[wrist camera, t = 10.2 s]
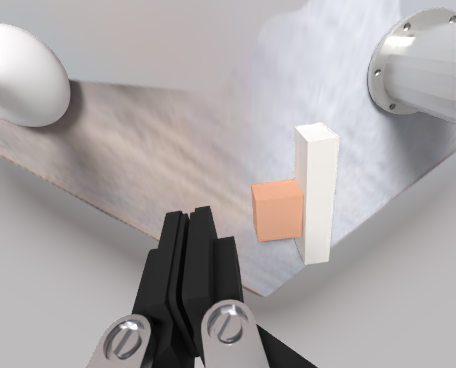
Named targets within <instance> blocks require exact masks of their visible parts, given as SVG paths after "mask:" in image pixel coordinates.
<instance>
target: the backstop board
mask: <svg viewBox="0 0 456 368" xmlns="http://www.w3.org/2000/svg"><path fill="white" fill-rule="evenodd" d="M339 140H340V137H339V136H338V135H336V134H335V133H334V132H333V131H332V130H330V129H329V128H328V127H327V126H325V125H324V124H323V123H316V124H309V125H302V126H296V127H294V180H295V181H296V183H297V185H298V187H299V188H300V190H301V192H302V193H303V214H302V233H301V237H295V242H296V245H297V247H298V250H299V252H300V254H301V257H302V259H303V262H304V264H305V265H308V264H315V263H322V262H328V261H329V251H330V241H331V229H332V218H333V207H334V196H335V185H336V174H337V162H338V151H339Z"/></svg>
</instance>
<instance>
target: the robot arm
mask: <svg viewBox="0 0 456 368" xmlns="http://www.w3.org/2000/svg"><path fill="white" fill-rule="evenodd" d="M403 27H404V28H403ZM375 71H376V72H375ZM368 88H369V92H370V95H371V97H372V99H373V100H374V102H375V103H376V104H377V105H378V106H379V107H380V108H382V109H383V110H385V111H387V112H390V113H393V114H397V115H408V114H414V113H417V112H420V111H422V112H424V113H427V114H430V115H432V116H435V117H437V118H440V119H443V120H445V121H448V122H451V123H453V124H456V12H455V11H453V10H451V9H446V8H430V9H423V10H420V11H417V12H415V13H412V14H410V15H409V16H407V17H405V18H403V19H402V20H401V21H399V22H398V23H397V24H396V25H394V26H393V27H392V28H391V29H390V30H389V32H388V33H387V34H386V35H385V36H384V37H383V39H382V40H381V42H380V43H379V44H378V46H377V48H376V50H375V52H374V54H373V56H372V59H371V62H370V65H369V71H368ZM199 356H200V357H201V360H202V362H203V364H204V367H205V368H317V367H316V366H315V365H313V364H312V363H310V362H309V361H308V360H306V359H305V358H303V357H302V356H301V355H299V354H298V353H296V352H295V351H293V350H292V349H291V348H289V347H288V346H286V345H285V344H284V343H282V342H281V341H280V340H278V339H277V338H275V337H273V336H272V335H271V334H270V333H268V332H267V331H265V330H264V329H263V328H261V327H260V326H258V325H257V324H256V323H255V320H254V317H253V314H252V312H251V310H250V309H249V308H248V307H247V306H246V305H245V304H244V301H243V292H242V284H241V275H240V268H239V261H238V255H237V249H236V244H235V240H234V236H232V237H226V238H220V239H218V237H217V233H216V229H215V225H214V221H213V217H212V212H211V209H210V206H205V207H199V208H195V212H192V213H190V220H189V217H188V214H187V213H186V214H183V213H182V211H175V212H169V213H166V216H165V220H164V225H163V229H162V233H161V237H160V241H159V245H158V249H152V250H150V251H149V254H148V257H147V260H146V264H145V268H144V271H143V274H142V278H141V282H140V285H139V289H138V292H137V296H136V300H135V304H134V307H133V310H132V314H131V315H127V316H125V317H122V318H120V319H118V320H117V321H116V322H114V323H113V324H112V325H111V326H110V327H109V328H108V329H107V330H106V331H105V333H104V334H103V336H102V337H101V339H100V341H99V343H98V345H97V347H96V349H95V351H94V353H93V355H92V357H91V360H90V361H89V364H88V366H87V367H86V368H194V363H195V357H199Z"/></svg>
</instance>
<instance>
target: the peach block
mask: <svg viewBox="0 0 456 368" xmlns="http://www.w3.org/2000/svg"><path fill="white" fill-rule="evenodd" d="M251 190H252V205H253V221H254V227H255V231H256V235H257V239H258V242H262V241H270V240H278V239H287V238H295V237H301V233H302V214H303V193H302V192H301V190H300V188H299V187H298V185H297V183H296V181H295V180H294V179H291V180H283V181H274V182H266V183H258V184H251Z"/></svg>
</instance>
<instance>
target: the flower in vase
mask: <svg viewBox="0 0 456 368" xmlns="http://www.w3.org/2000/svg"><path fill="white" fill-rule="evenodd" d="M69 102H70V84H69V80H68V77H67V74H66V71H65V69H64V67H63V65H62V64H61V62H60V60H59V59H58V58H57V56H56V55H55V54H54V52H53V51H52V50H51V49H50V48H49V47H48V46H47V45H46V44H45V43H44V42H42V41H41V40H40V39H39V38H37V37H36V36H34V35H33V34H31V33H29V32H27V31H25V30H23V29H21V28H18V27H16V26H11V25H8V24H0V118H1V119H3V120H5V121H8V122H10V123H13V124H17V125H21V126H30V127H41V126H46V125H49V124H52V123H54V122H56V121H57V120H58V119H60V118H61V117H62V116H63V115H64V113H65V112H66V110H67V108H68V105H69Z"/></svg>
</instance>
